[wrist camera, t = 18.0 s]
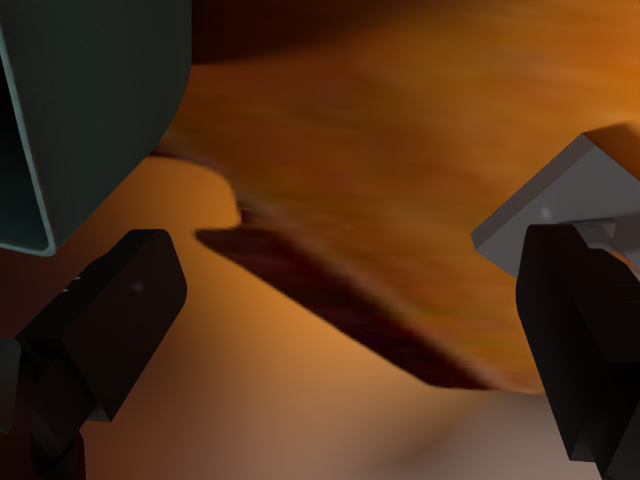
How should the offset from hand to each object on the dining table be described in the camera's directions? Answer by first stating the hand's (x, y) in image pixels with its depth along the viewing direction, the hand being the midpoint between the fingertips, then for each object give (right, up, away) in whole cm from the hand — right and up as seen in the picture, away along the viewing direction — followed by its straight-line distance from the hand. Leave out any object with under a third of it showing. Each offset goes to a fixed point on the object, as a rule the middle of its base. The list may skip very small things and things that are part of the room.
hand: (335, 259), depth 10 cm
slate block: (+28, +2, +38) cm, 47 cm away
